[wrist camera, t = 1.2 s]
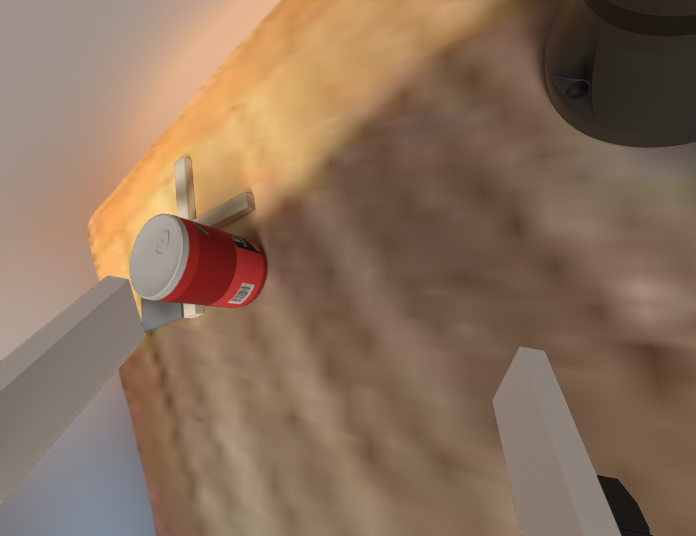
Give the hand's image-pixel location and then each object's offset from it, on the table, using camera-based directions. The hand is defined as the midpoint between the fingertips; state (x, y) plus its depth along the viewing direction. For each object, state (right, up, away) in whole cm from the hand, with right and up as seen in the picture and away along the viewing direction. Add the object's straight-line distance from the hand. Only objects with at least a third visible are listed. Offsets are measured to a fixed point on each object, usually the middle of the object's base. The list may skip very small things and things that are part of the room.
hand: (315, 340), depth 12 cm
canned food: (-11, +2, +30) cm, 32 cm away
